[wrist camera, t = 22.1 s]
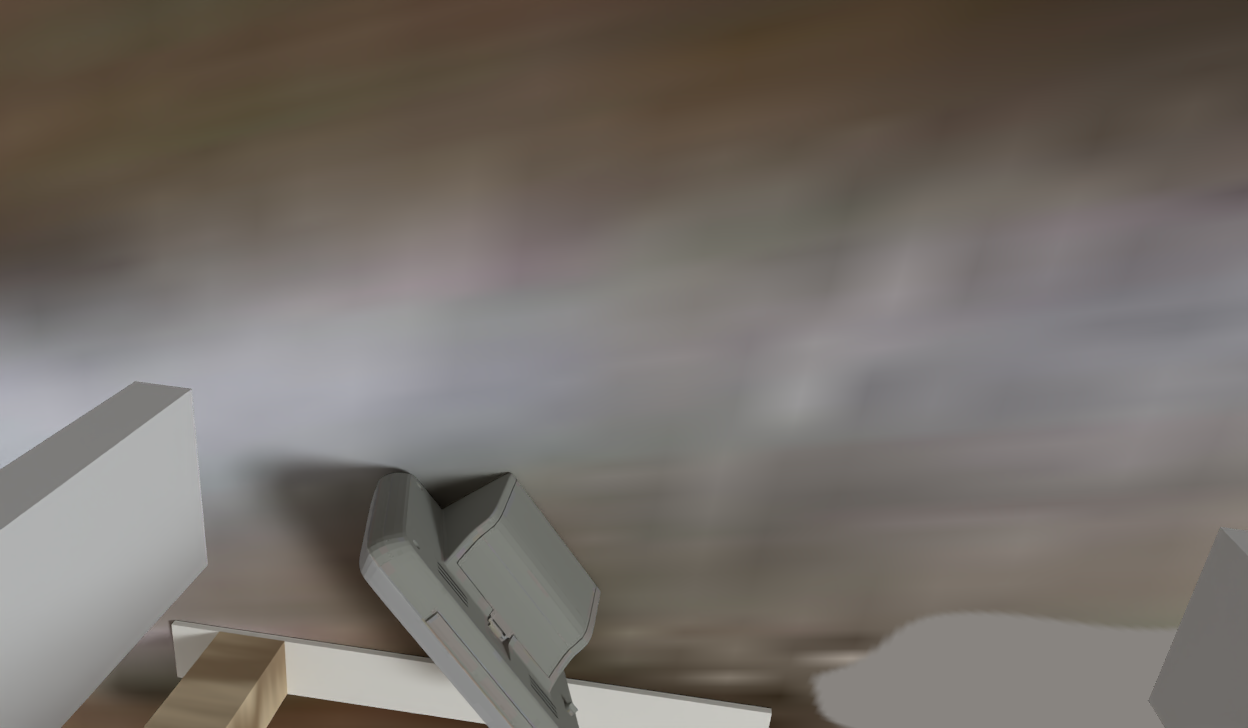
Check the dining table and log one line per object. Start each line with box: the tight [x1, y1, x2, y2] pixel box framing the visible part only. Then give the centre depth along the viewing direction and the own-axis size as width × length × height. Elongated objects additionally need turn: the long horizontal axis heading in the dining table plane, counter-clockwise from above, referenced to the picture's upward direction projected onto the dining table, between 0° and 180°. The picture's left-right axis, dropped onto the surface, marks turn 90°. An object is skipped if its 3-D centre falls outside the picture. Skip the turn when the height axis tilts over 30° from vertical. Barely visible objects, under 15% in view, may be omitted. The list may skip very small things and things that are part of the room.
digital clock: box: [359, 473, 600, 728], centre depth 46 cm, size 16×9×11 cm, turn 22°
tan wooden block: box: [144, 631, 287, 728], centre depth 50 cm, size 4×4×9 cm
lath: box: [172, 620, 772, 728], centre depth 54 cm, size 4×36×1 cm, turn 84°
